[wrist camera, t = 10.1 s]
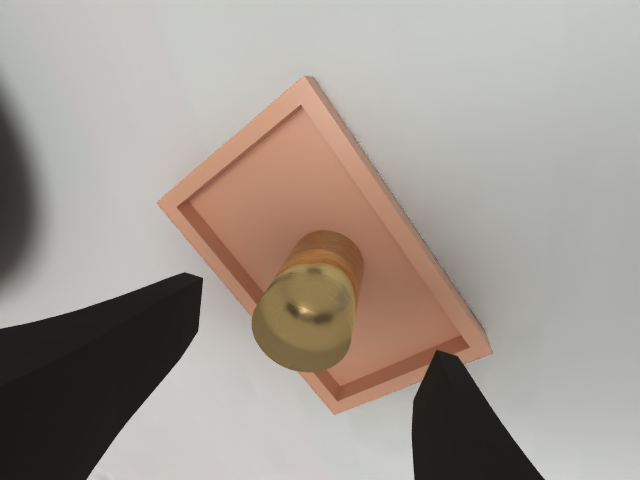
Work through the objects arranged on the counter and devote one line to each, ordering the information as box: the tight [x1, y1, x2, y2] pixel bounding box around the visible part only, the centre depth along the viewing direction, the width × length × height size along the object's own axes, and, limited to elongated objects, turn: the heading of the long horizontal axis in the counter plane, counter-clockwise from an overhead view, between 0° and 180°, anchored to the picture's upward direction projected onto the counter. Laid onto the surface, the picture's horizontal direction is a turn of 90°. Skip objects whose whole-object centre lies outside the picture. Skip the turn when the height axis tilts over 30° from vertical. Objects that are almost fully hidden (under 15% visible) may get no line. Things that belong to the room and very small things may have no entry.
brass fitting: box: [252, 230, 364, 372], centre depth 17 cm, size 4×4×6 cm
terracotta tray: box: [157, 76, 493, 415], centre depth 19 cm, size 16×10×2 cm, turn 37°
